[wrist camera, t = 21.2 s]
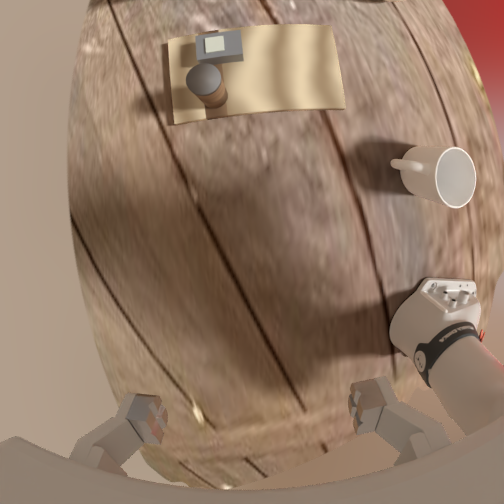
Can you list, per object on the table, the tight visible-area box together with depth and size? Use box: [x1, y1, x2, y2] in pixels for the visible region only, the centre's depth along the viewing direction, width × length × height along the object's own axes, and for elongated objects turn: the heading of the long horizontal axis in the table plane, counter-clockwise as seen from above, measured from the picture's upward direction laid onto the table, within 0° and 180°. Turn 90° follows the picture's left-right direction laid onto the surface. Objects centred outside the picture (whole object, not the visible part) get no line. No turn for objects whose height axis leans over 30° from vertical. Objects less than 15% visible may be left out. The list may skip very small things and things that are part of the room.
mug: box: [391, 146, 476, 208], centre depth 33 cm, size 12×8×10 cm
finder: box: [195, 30, 244, 65], centre depth 30 cm, size 6×4×3 cm, turn 95°
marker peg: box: [186, 63, 228, 109], centre depth 29 cm, size 4×4×10 cm
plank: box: [168, 24, 346, 125], centre depth 33 cm, size 24×14×2 cm, turn 96°
